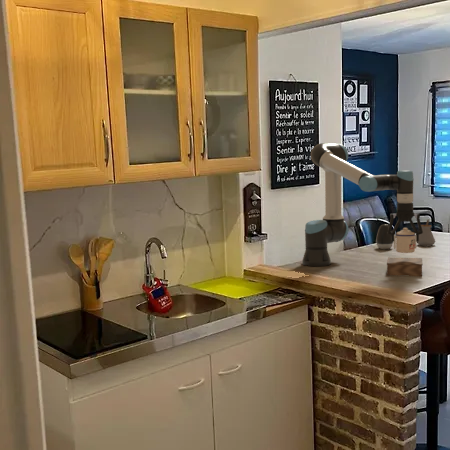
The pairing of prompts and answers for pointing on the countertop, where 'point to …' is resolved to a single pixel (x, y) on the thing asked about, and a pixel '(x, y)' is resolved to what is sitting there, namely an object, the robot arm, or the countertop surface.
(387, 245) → the brown egg-shaped piece
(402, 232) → the teacup with lid
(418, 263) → the walnut box
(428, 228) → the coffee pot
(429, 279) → the countertop surface
